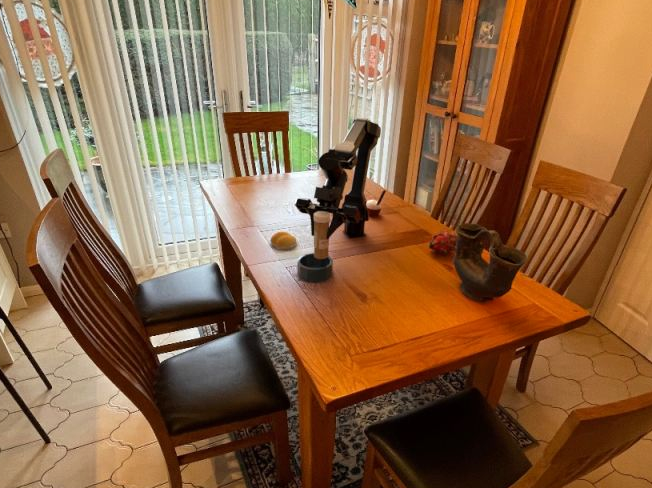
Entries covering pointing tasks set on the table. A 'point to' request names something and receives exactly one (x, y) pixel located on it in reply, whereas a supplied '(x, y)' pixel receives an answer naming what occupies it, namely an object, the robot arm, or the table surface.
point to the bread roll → (283, 240)
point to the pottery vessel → (485, 263)
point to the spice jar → (321, 234)
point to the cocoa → (375, 206)
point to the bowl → (314, 268)
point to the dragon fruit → (443, 243)
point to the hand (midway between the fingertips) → (319, 236)
